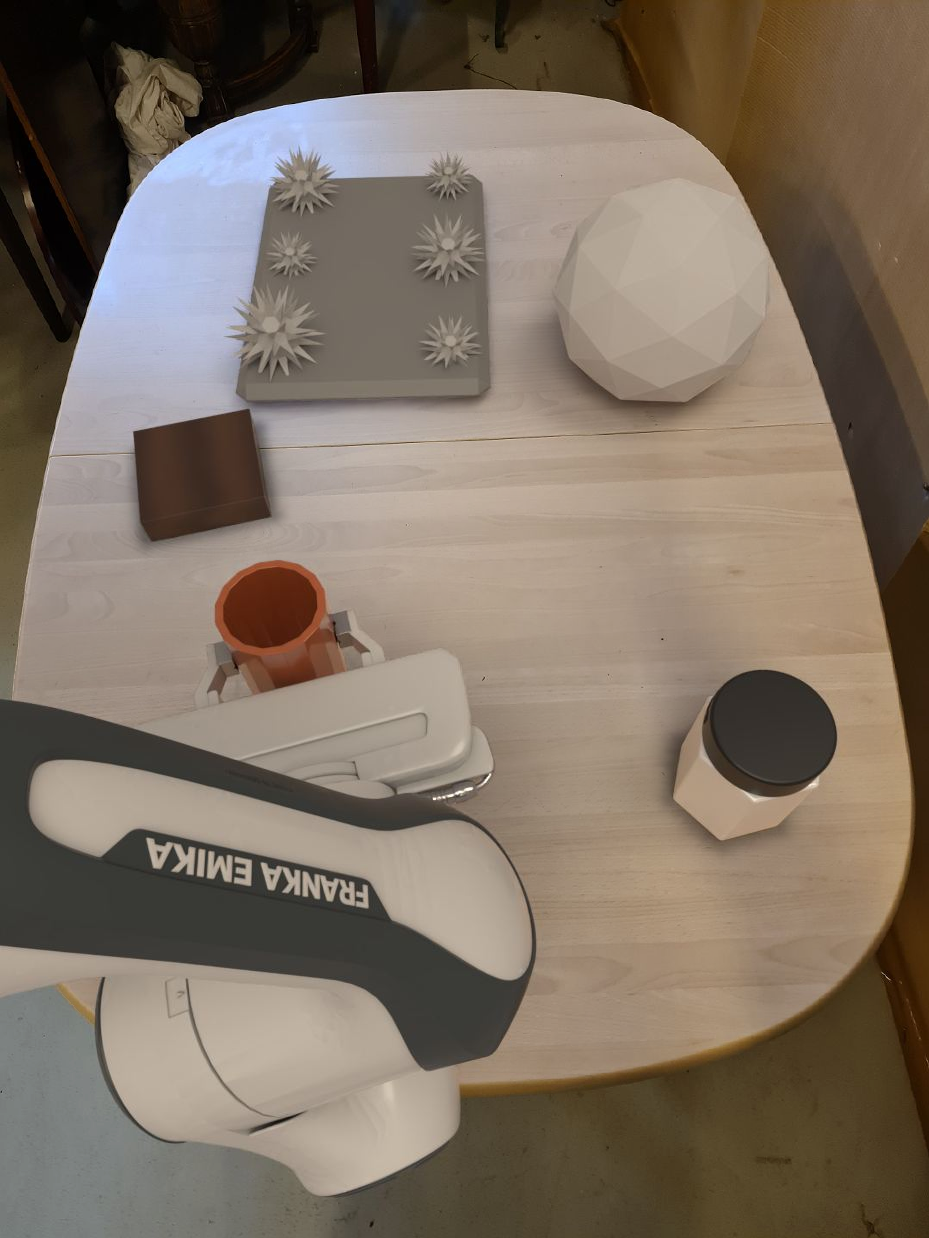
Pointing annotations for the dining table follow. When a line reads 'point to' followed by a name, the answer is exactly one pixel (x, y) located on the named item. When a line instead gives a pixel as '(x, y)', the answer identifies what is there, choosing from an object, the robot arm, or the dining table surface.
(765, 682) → the jar
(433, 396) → the decorative tray
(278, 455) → the dining table surface
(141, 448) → the stand
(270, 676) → the pot
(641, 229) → the sphere
